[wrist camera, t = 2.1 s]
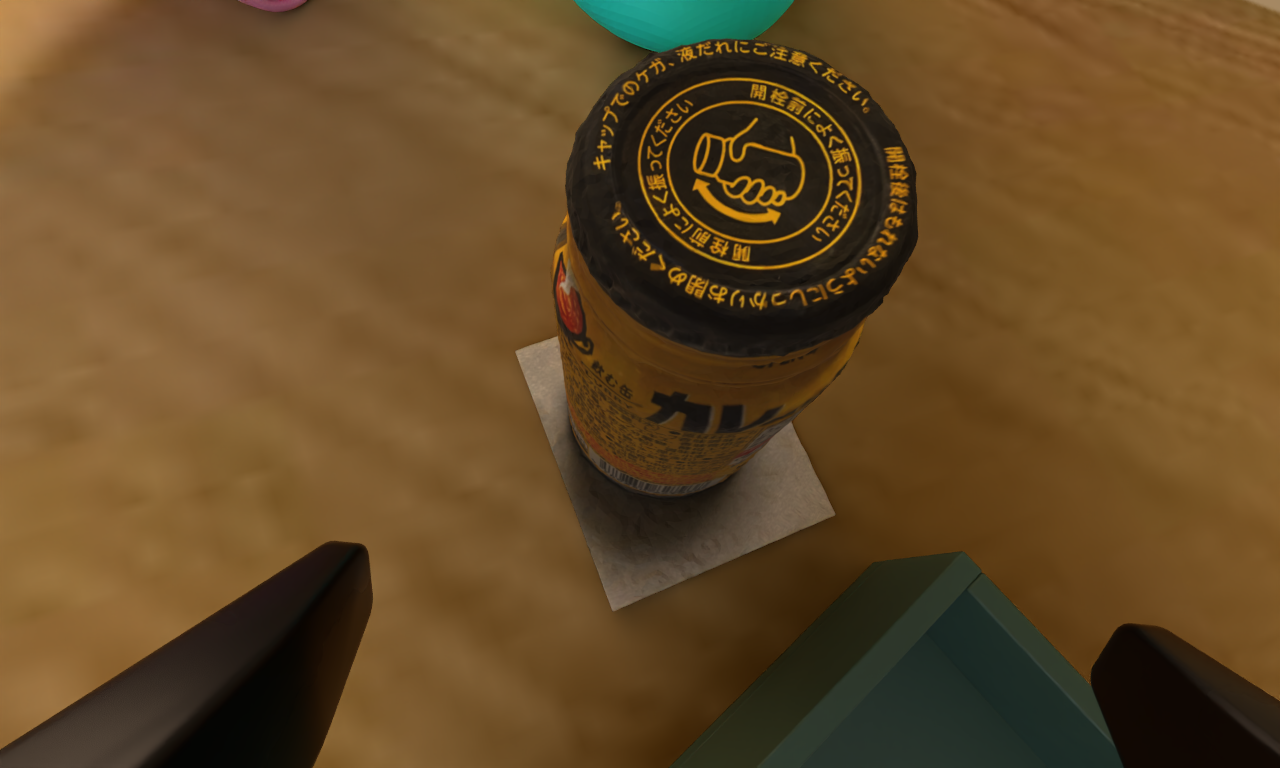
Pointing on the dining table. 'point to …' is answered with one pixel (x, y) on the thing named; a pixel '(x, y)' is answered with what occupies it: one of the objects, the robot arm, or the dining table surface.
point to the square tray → (914, 685)
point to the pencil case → (274, 4)
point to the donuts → (683, 19)
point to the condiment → (712, 299)
